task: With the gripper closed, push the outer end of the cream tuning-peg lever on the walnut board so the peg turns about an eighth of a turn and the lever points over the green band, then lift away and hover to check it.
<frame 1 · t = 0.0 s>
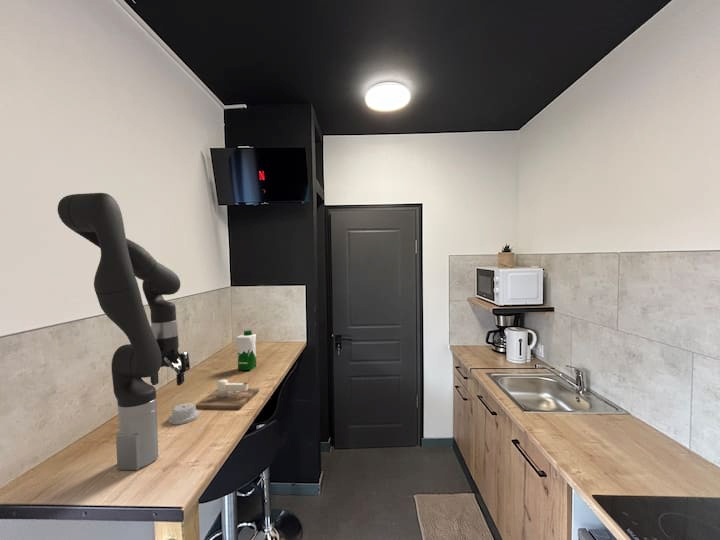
hand: (167, 384, 110), 17 cm above the breakfast bar, tool pointing down, fingers open, 8 cm apart
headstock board: (229, 399, 141), on the breakfast bar
peg: (232, 388, 140), point 5 cm above the breakfast bar, hinge at 0.0°
mechanical component: (184, 419, 125), on the breakfast bar
milk carton: (247, 369, 183), on the breakfast bar
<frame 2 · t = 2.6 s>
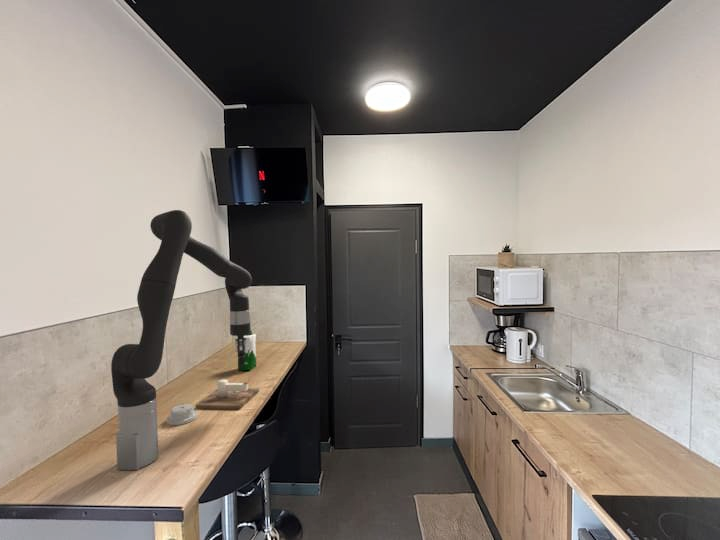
hand: (241, 366, 133), 16 cm above the breakfast bar, tool pointing down, fingers closed
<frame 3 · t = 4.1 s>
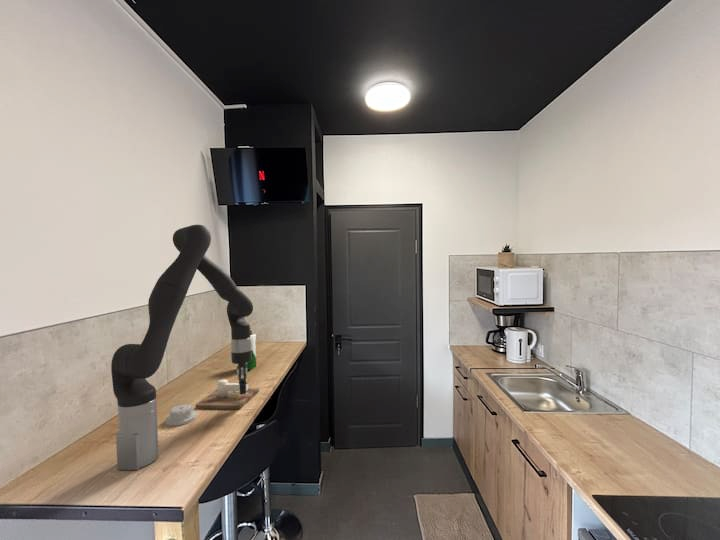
hand: (243, 393, 133), 5 cm above the breakfast bar, tool pointing down, fingers closed
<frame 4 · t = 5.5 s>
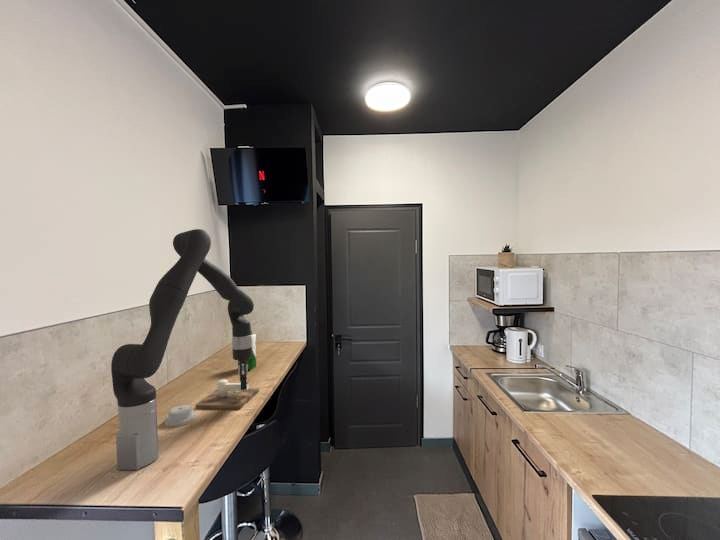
hand: (243, 389, 138), 5 cm above the breakfast bar, tool pointing down, fingers closed
peg: (233, 388, 141), point 5 cm above the breakfast bar, hinge at 2.9°, touching gripper
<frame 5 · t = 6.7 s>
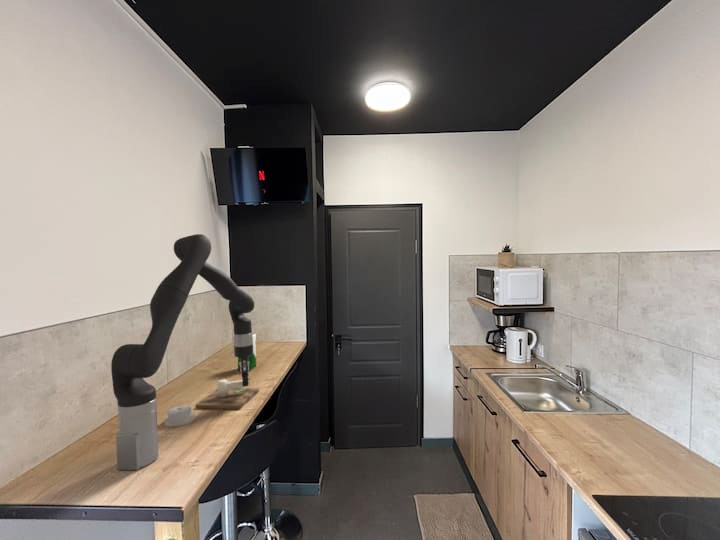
hand: (245, 385, 142), 5 cm above the breakfast bar, tool pointing down, fingers closed
peg: (233, 386, 143), point 5 cm above the breakfast bar, hinge at 31.0°, touching gripper
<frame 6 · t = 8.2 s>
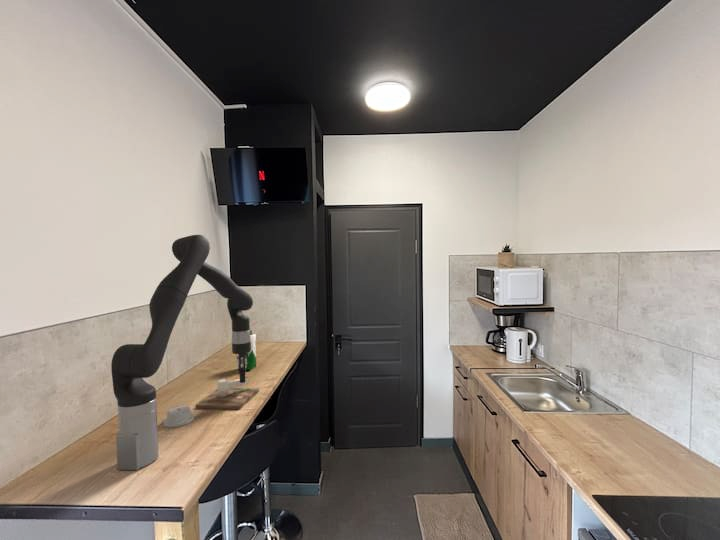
hand: (242, 382, 144), 6 cm above the breakfast bar, tool pointing down, fingers closed
peg: (233, 385, 144), point 5 cm above the breakfast bar, hinge at 47.3°
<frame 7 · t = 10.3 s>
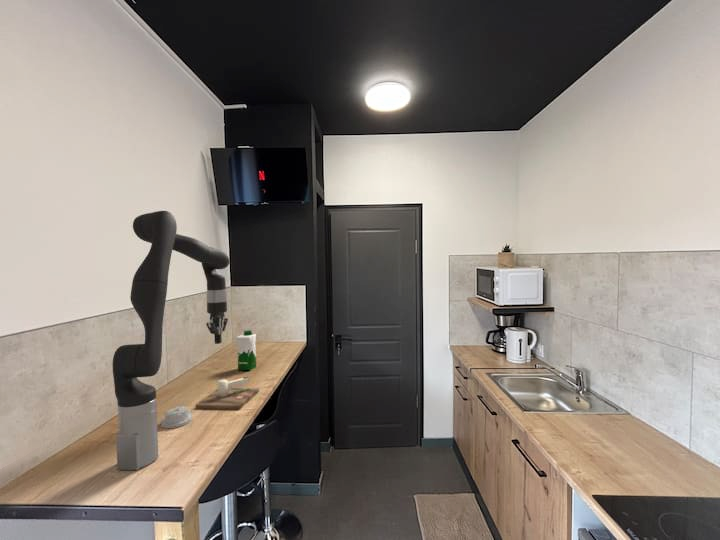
hand: (218, 343, 140), 24 cm above the breakfast bar, tool pointing down, fingers closed
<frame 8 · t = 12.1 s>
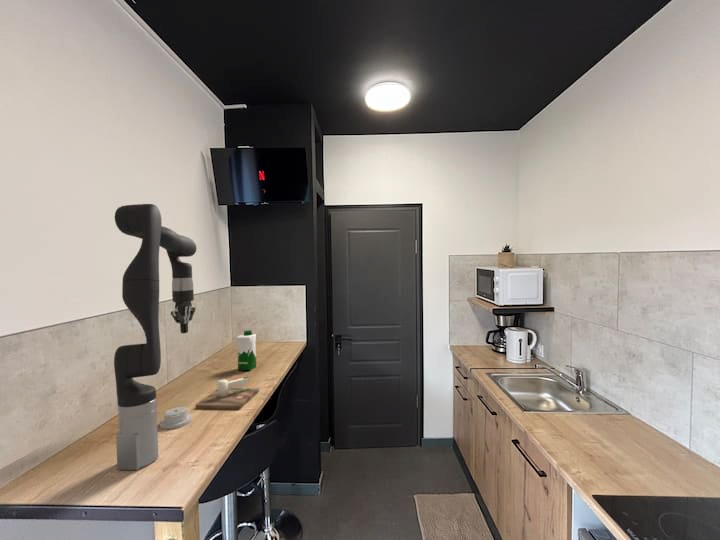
hand: (184, 332, 136), 29 cm above the breakfast bar, tool pointing down, fingers closed
at the end: peg at +47° (first picture: +0°) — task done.
